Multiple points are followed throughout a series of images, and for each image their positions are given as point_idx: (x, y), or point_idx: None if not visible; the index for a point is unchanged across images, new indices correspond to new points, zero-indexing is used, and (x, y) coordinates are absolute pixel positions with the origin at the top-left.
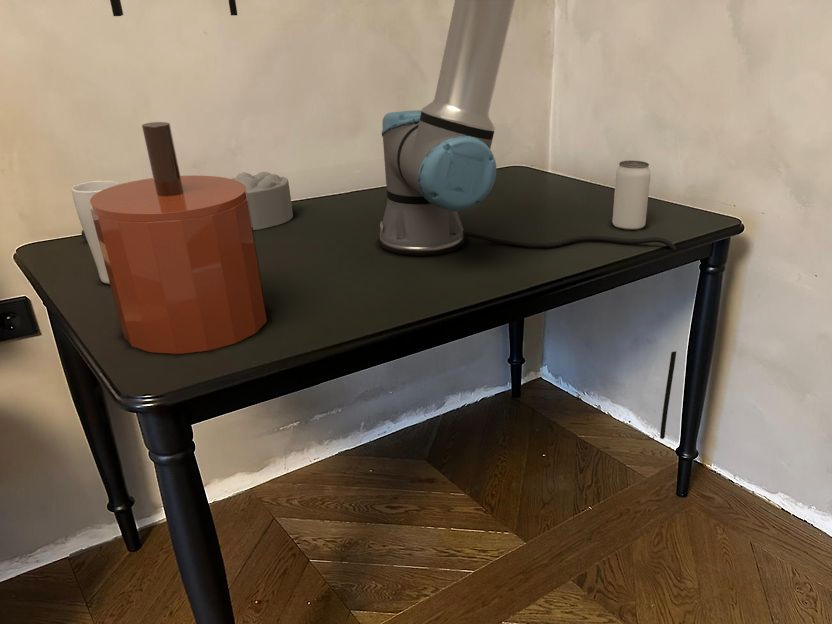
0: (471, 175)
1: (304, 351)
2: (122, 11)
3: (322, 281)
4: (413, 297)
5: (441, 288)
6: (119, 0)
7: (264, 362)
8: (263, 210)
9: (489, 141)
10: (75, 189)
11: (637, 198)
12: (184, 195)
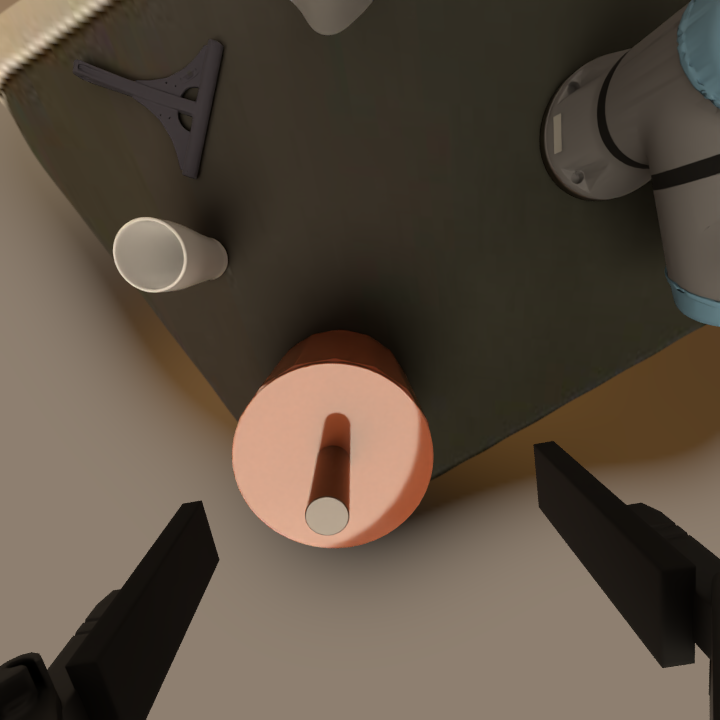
0: None
1: (451, 463)
2: (198, 509)
3: (459, 285)
4: (563, 345)
5: (599, 321)
6: (189, 544)
7: None
8: (354, 1)
9: None
10: (118, 255)
11: None
12: (355, 473)
